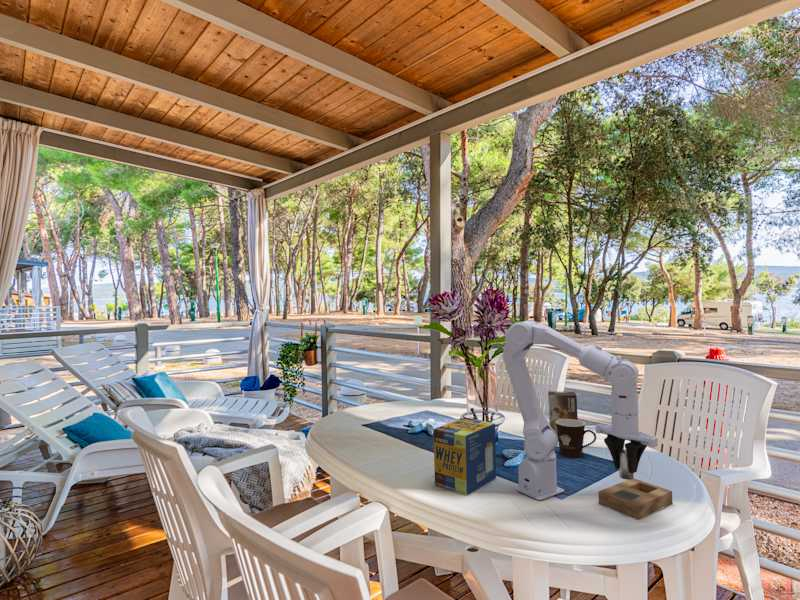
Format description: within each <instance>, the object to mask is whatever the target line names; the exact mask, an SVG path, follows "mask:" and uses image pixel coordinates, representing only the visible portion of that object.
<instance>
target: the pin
mask: <svg viewBox="0 0 800 600" xmlns="http://www.w3.org/2000/svg"><path fill="white" fill-rule="evenodd" d="M618 470H619V473H618V474H619V478H620V479H623V480H631V479H633V478H634V473H632V474H631V473H629V470H628V456H627V451H626V449H623V450H620V451H619V469H618ZM634 479H635V478H634Z"/></svg>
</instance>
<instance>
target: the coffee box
mask: <svg viewBox="0 0 800 600" xmlns="http://www.w3.org/2000/svg"><path fill="white" fill-rule="evenodd" d="M547 393H548V395H547V398H548V421H549V424H550V426H551V428H552V429H553V430H554V431H555V433H556V434H557V427H556V421H557V420H561V419H573V420H579V419H578V398H577V394H576V393H575V392H574V391H554V390H553V391H547ZM557 437H558V434H557Z"/></svg>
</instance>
